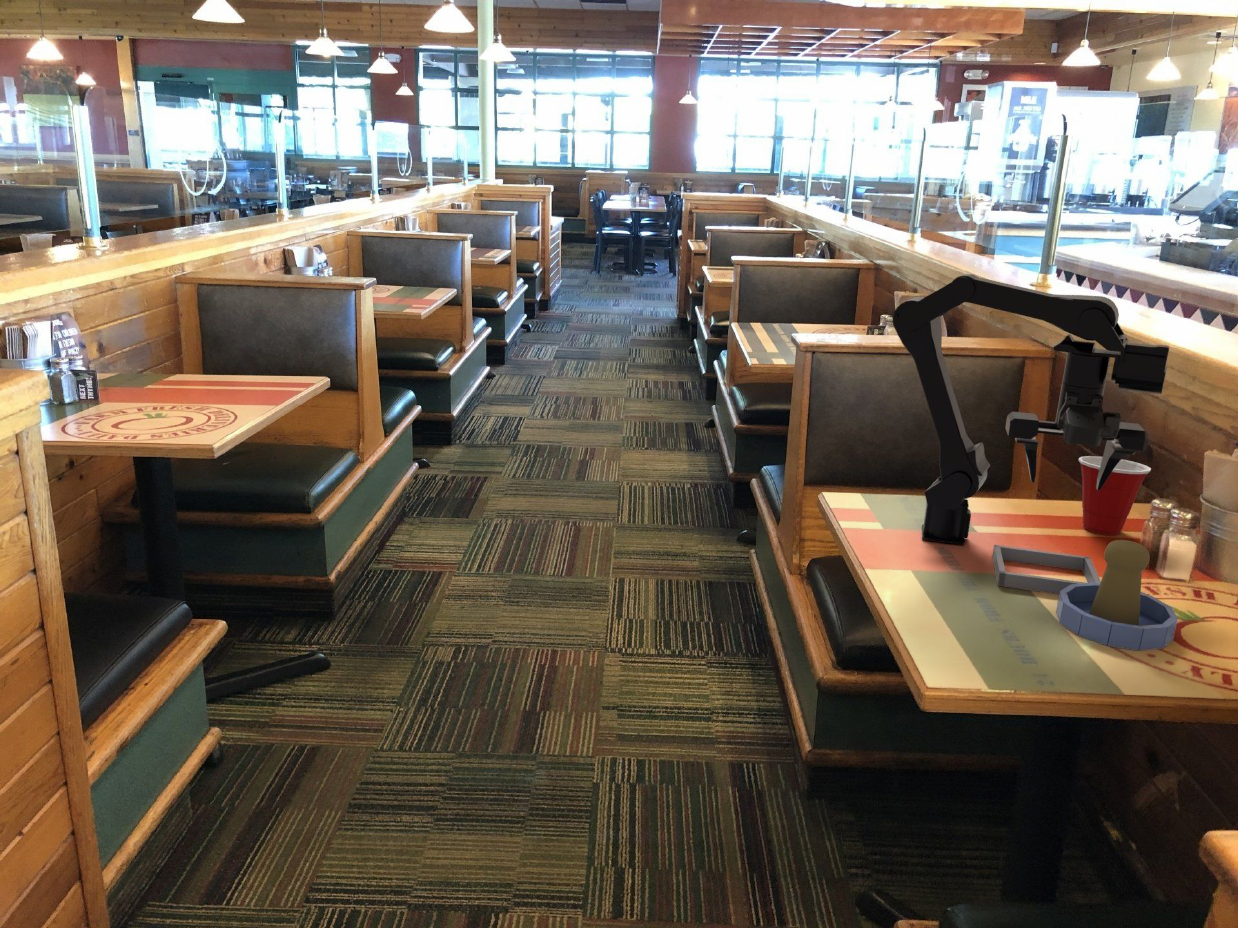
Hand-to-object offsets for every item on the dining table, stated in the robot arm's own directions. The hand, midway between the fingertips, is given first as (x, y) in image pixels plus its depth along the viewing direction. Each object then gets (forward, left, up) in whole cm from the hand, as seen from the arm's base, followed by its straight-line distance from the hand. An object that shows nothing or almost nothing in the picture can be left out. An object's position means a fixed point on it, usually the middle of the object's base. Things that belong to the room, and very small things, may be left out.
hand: (1065, 485), depth 147 cm
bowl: (+5, -22, -12) cm, 26 cm away
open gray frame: (-2, -8, -12) cm, 15 cm away
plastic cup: (+10, +18, -12) cm, 24 cm away
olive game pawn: (+5, -22, -12) cm, 25 cm away
